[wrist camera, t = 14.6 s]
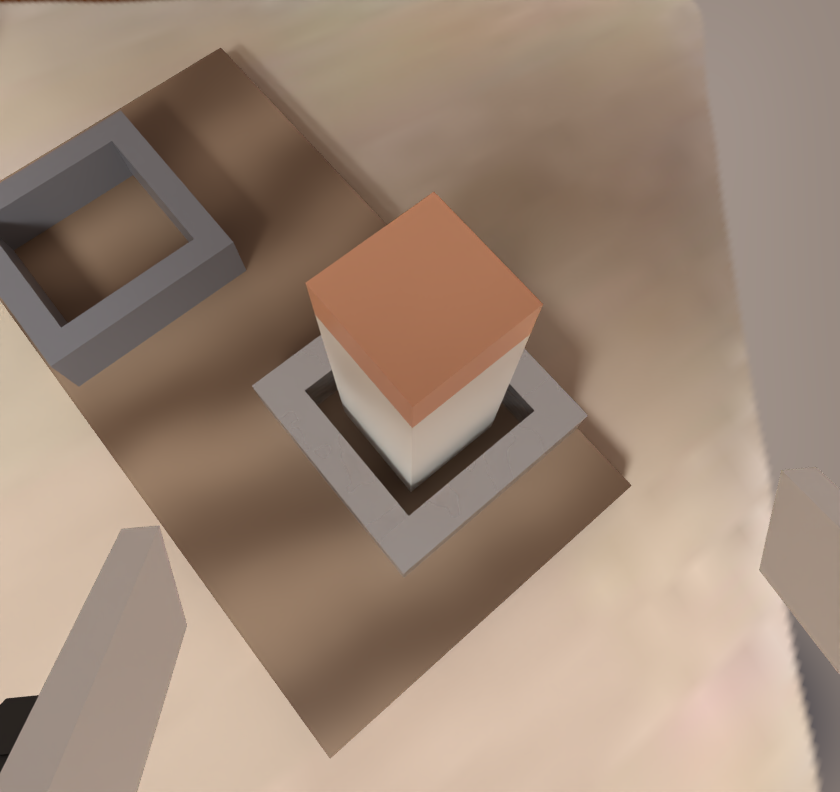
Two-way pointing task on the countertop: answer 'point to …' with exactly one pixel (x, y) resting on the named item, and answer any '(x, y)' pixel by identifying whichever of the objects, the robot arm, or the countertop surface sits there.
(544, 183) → the countertop surface
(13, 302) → the frame
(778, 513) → the robot arm
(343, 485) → the port
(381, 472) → the walnut board
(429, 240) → the plug
